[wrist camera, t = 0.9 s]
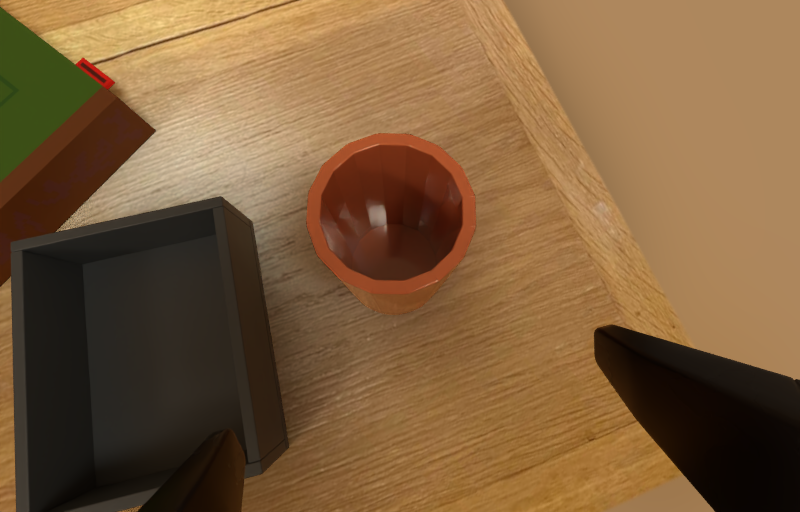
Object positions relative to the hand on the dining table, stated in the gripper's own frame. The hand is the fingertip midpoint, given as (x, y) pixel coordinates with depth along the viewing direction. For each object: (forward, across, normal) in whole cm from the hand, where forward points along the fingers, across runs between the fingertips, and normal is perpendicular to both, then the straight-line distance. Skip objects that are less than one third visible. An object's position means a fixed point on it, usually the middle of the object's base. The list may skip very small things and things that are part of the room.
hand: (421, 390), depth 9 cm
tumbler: (+15, -1, +3) cm, 16 cm away
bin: (+14, +13, +5) cm, 20 cm away
